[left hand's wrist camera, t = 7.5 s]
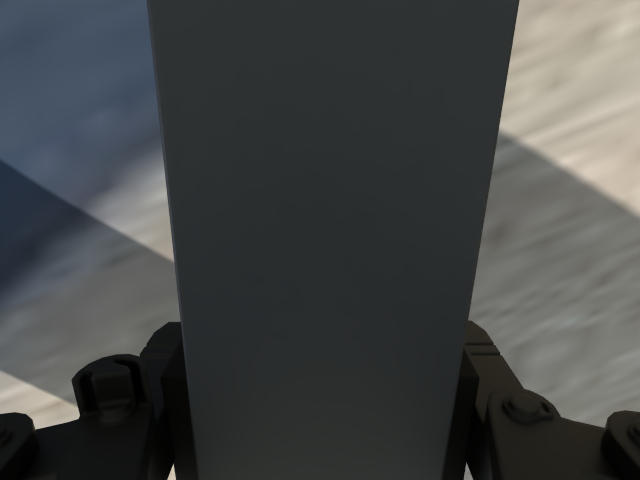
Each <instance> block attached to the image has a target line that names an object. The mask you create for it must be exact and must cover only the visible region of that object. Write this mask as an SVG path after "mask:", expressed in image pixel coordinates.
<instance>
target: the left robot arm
mask: <svg viewBox="0 0 640 480" xmlns="http://www.w3.org/2000/svg"><path fill="white" fill-rule="evenodd" d="M146 345H147V346H146V347H144V349H143V350H142V352H141V353H140V357H139V356H135V355H131V354H117V355H112V356H108V357H104V358H101V359H99V360H96V361H94V362H92V363H89V364H88V365H87V366H85V367H84V368H82V369H81V370H79V371H78V372H77V374H76V375H75V376H74V378H73V379H72V384H73V388H74V392H75V397H76V401H77V405H78V409H79V413H80V417H79V419H77V420H74V421H70V422H67V423H63V424H58V425H54V426H50V427H45V428H41V429H36V430H35V427H34V424H33V420H32V419H31V418H30V417H29V416H28V415H26V414H22V413H16V412H13V413H5V414H0V480H167V479H168V476H169V474H170V471H171V468H172V466H173V463H174V469H175V475H176V480H198V479H197V469H196V460H195V450H194V441H193V432H192V422H191V413H190V403H189V394H188V384H187V375H186V366H185V356H184V347H183V337H182V328H181V322H168V323H167V324H165V325H164V326H163V327H161V328H160V329H158V330H157V331H156V332H154V334H153V335H152V337H151V338H150V340H149V341H148V343H147V344H146ZM466 462H467V465H468V467H469V470H470V472H471V475H472V477H473V480H640V412H634V411H626V410H625V411H619V412H614V413H613V414H612V415H611V416H609V417H608V419H607V422H606V426H605V428H603V427H598V426H594V425H589V424H585V423H580V422H576V421H572V420H569V419H565V418H562V417H561V416H560V414H559V413H558V411H557V410H556V408H555V407H554V405H553V404H551V403H550V402H549V401H548V400H546V399H545V398H544V397H542V396H540V395H538V394H536V393H534V392H532V391H530V390H526V389H524V388H523V387H522V385H521V384H520V382H519V381H518V379H517V378H516V376H515V375H514V373H513V372H512V370H511V369H510V367H509V366H508V364H507V363H506V361H505V360H504V358H503V357H502V356H500V352H499V351H498V349H497V348H496V346H495V345H494V344H493V342H492V340H491V339H490V337H489V336H488V334H487V332H486V331H485V330H483V329H482V328H481V327H479V326H478V325H476V324H475V323H474V322H472V321H468V323H467V329H466V335H465V342H464V348H463V354H462V360H461V366H460V373H459V379H458V385H457V391H456V398H455V404H454V410H453V416H452V422H451V429H450V435H449V441H448V447H447V453H446V460H445V466H444V472H443V478H442V480H464V473H465V467H466Z"/></svg>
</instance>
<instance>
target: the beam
mask: <svg viewBox="0 0 640 480" xmlns="http://www.w3.org/2000/svg"><path fill="white" fill-rule="evenodd" d="M518 6H519V0H147V7H148V17H149V26H150V35H151V45H152V54H153V64H154V73H155V83H156V92H157V101H158V111H159V120H160V130H161V139H162V149H163V158H164V167H165V177H166V186H167V196H168V205H169V215H170V224H171V233H172V243H173V252H174V262H175V271H176V281H177V290H178V299H179V309H180V318H181V328H182V337H183V347H184V356H185V366H186V375H187V384H188V394H189V403H190V413H191V422H192V432H193V441H194V450H195V460H196V469H197V479H198V480H442V478H443V472H444V466H445V460H446V453H447V447H448V441H449V435H450V429H451V422H452V416H453V410H454V404H455V398H456V391H457V385H458V379H459V373H460V366H461V360H462V354H463V348H464V342H465V335H466V329H467V323H468V317H469V310H470V304H471V298H472V292H473V286H474V279H475V273H476V267H477V261H478V254H479V248H480V242H481V236H482V230H483V223H484V217H485V211H486V205H487V198H488V192H489V186H490V180H491V174H492V167H493V161H494V155H495V149H496V142H497V136H498V130H499V124H500V118H501V111H502V105H503V99H504V93H505V86H506V80H507V74H508V68H509V62H510V55H511V49H512V43H513V37H514V30H515V24H516V18H517V12H518Z"/></svg>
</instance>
